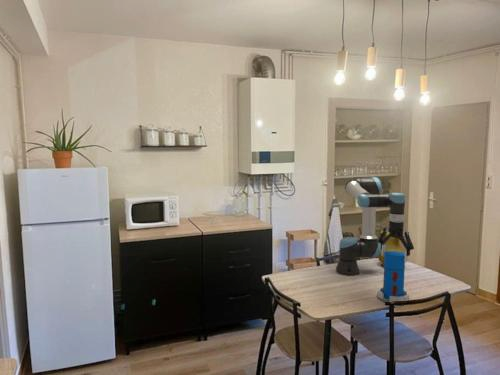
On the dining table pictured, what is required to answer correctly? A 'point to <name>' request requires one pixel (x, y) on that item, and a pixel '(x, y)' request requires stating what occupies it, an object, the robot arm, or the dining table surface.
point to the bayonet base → (392, 298)
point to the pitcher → (389, 246)
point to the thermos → (393, 274)
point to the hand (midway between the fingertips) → (394, 258)
